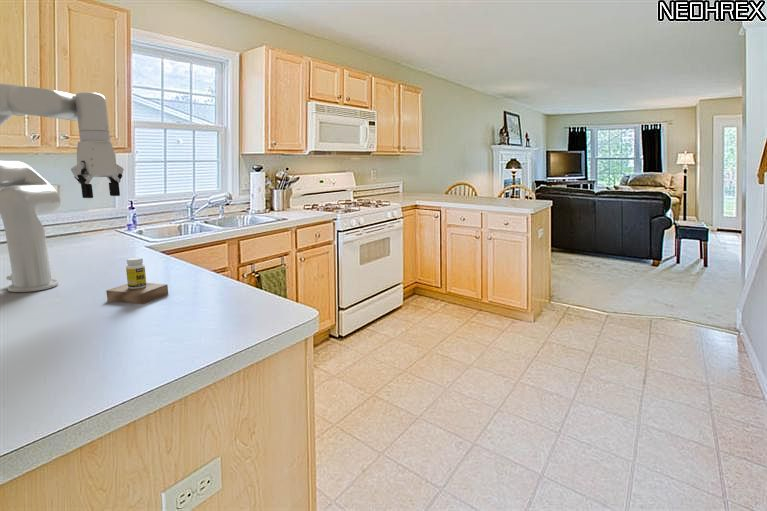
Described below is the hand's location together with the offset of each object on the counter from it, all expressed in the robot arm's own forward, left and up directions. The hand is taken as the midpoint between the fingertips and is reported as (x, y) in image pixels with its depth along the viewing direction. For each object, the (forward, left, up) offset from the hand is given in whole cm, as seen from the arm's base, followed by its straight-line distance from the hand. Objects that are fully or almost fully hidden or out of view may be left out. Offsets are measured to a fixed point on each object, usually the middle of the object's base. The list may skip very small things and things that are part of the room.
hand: (102, 196), depth 137 cm
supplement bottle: (+15, -6, -26) cm, 30 cm away
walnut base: (+15, -6, -28) cm, 33 cm away
